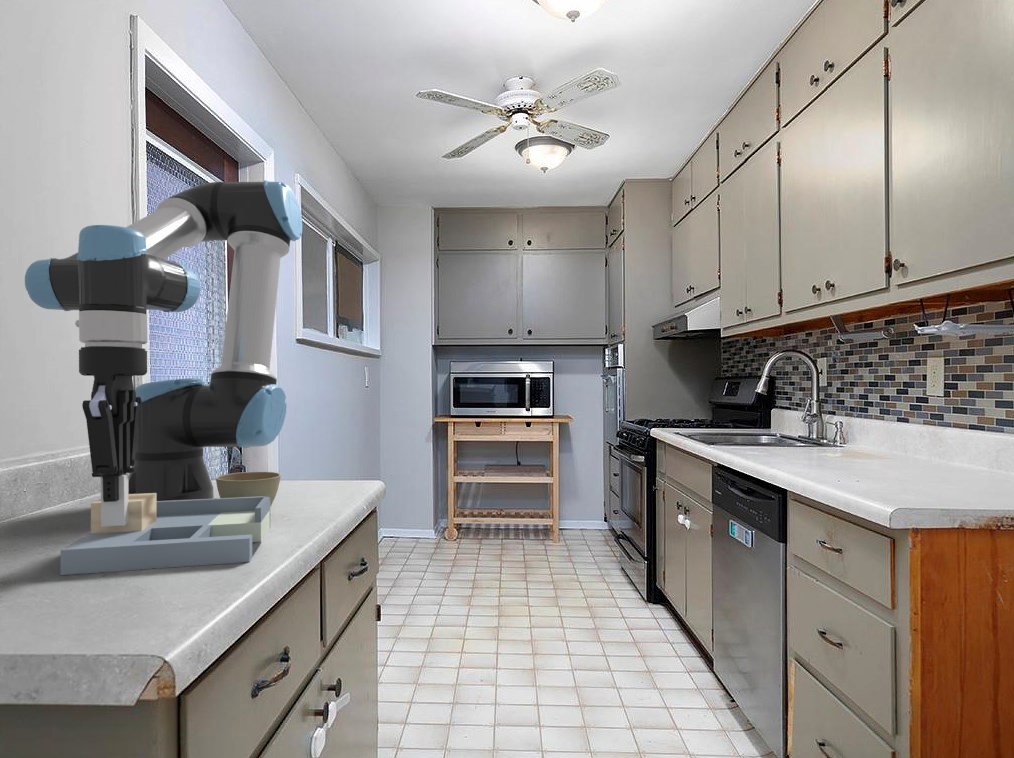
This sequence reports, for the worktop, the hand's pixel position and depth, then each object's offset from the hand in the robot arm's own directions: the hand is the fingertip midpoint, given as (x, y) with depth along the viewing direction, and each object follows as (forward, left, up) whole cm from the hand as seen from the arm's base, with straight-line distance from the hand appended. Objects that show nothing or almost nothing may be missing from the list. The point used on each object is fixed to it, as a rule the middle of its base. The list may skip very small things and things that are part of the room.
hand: (115, 524), depth 78 cm
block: (-4, 0, -1) cm, 4 cm away
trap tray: (-2, +7, -4) cm, 9 cm away
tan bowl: (-19, +13, -4) cm, 24 cm away
